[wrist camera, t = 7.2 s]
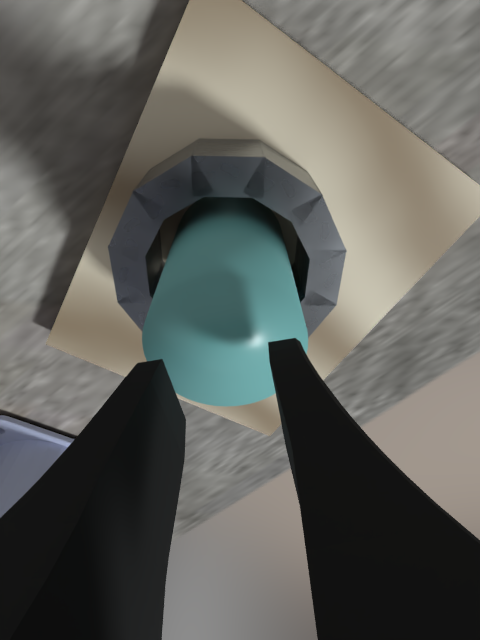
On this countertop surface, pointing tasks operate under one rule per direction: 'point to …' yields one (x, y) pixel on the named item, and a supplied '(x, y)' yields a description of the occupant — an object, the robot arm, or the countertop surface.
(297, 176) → the grey faceted ring
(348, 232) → the pale board
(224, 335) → the teal plug
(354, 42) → the countertop surface
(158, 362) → the robot arm
